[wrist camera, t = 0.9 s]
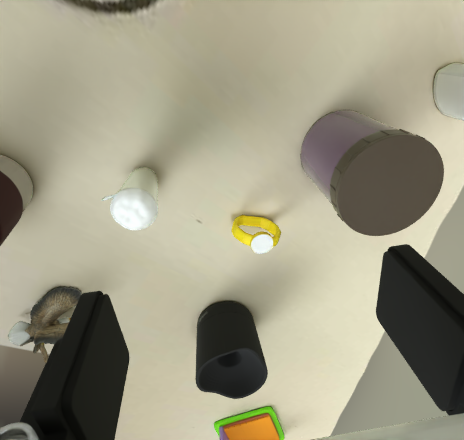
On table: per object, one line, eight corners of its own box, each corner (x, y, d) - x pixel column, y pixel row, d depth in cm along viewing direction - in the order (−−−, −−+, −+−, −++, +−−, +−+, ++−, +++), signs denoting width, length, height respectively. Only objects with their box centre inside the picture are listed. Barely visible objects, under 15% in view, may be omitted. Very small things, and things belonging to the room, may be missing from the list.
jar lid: (359, 114, 29) (370, 119, 27) (451, 147, 32) (466, 153, 30) (311, 213, 33) (318, 222, 32) (396, 235, 36) (406, 245, 34)
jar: (321, 98, 38) (368, 120, 28) (391, 123, 40) (458, 152, 30) (288, 175, 42) (319, 219, 32) (353, 194, 44) (402, 240, 34)
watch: (228, 226, 45) (233, 251, 39) (232, 207, 43) (238, 230, 38) (271, 232, 46) (281, 257, 41) (276, 214, 45) (288, 237, 39)
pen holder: (243, 289, 50) (254, 342, 41) (262, 330, 55) (276, 386, 46) (184, 310, 51) (183, 367, 42) (208, 349, 55) (212, 408, 47)
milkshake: (134, 148, 38) (118, 181, 30) (171, 178, 41) (166, 216, 32) (110, 176, 40) (88, 215, 31) (147, 203, 42) (136, 247, 33)
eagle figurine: (70, 348, 50) (104, 322, 46) (24, 376, 44) (59, 349, 40) (44, 305, 51) (75, 276, 47) (-5, 326, 45) (27, 295, 41)
